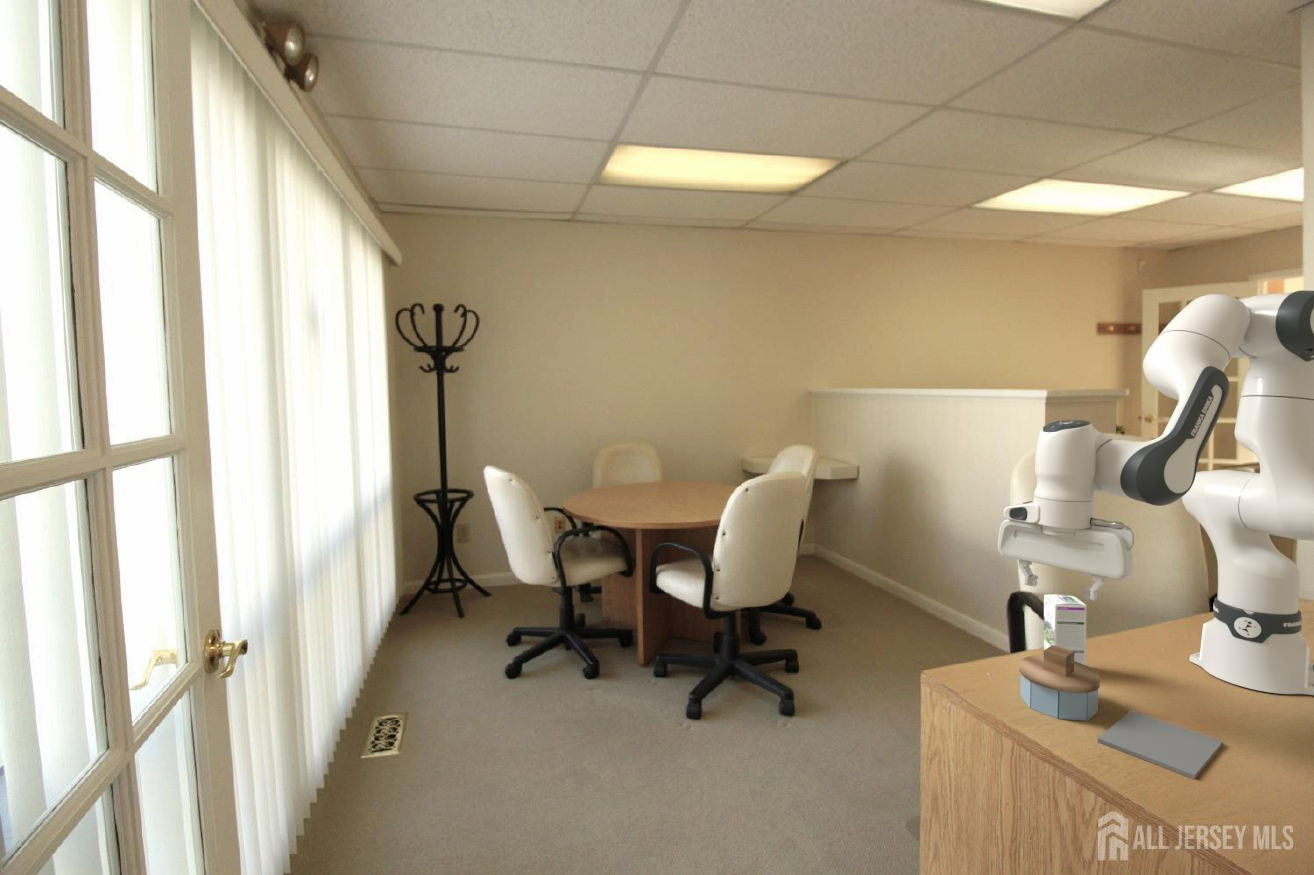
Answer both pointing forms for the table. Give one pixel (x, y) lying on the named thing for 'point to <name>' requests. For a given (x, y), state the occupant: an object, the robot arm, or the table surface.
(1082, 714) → the bowl
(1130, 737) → the mat
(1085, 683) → the lid
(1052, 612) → the syrup box
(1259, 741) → the table surface
